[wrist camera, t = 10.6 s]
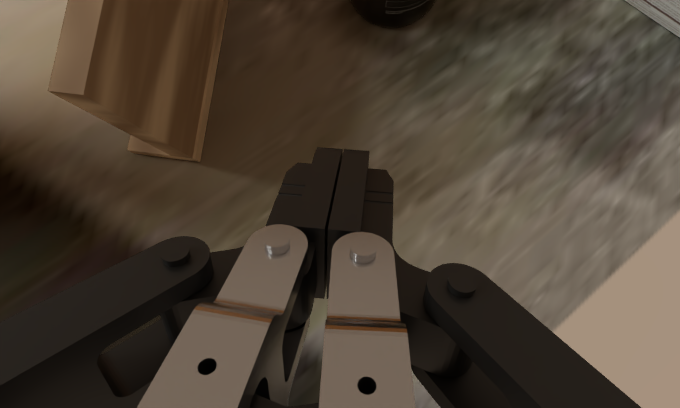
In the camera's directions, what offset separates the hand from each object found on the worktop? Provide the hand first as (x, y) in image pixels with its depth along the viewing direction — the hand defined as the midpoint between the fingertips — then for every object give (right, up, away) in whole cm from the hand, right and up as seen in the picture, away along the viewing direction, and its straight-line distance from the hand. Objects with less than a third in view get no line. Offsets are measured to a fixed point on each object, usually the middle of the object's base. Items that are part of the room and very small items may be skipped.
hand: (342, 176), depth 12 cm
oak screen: (-12, +11, +20) cm, 26 cm away
